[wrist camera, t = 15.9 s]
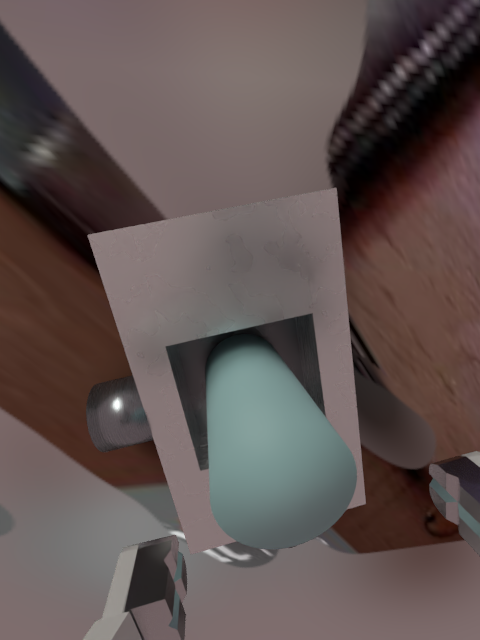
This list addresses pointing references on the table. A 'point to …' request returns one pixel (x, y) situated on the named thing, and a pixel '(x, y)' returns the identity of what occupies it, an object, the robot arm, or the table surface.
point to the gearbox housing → (221, 330)
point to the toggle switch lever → (270, 450)
